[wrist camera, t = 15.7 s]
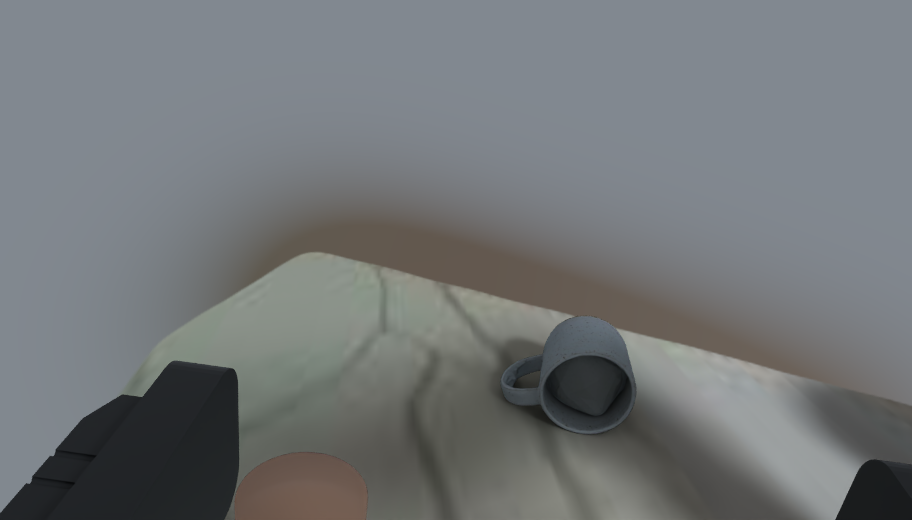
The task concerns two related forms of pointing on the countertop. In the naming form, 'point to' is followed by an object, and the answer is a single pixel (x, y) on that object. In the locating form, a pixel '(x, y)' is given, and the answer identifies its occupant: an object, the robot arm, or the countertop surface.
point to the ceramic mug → (578, 377)
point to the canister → (302, 490)
